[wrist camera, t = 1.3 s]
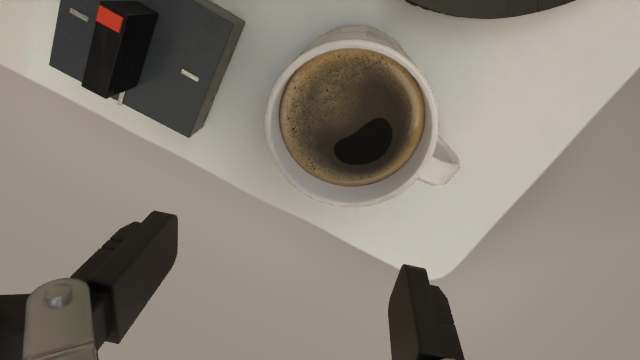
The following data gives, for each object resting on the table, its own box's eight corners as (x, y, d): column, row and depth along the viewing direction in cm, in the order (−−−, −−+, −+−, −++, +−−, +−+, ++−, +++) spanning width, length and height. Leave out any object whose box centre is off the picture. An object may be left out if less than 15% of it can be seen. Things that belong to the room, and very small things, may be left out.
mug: (400, -2, 27) (422, -1, 18) (445, 141, 32) (482, 206, 22) (274, 56, 30) (232, 84, 20) (331, 180, 35) (320, 254, 25)
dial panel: (74, 60, 32) (46, 66, 29) (100, -64, 28) (70, -72, 25) (202, 128, 34) (187, 140, 31) (246, 20, 29) (233, 22, 26)
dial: (137, 86, 29) (103, 99, 25) (115, 75, 29) (78, 86, 25) (159, 13, 27) (125, 15, 23) (135, 0, 26) (97, 0, 23)
